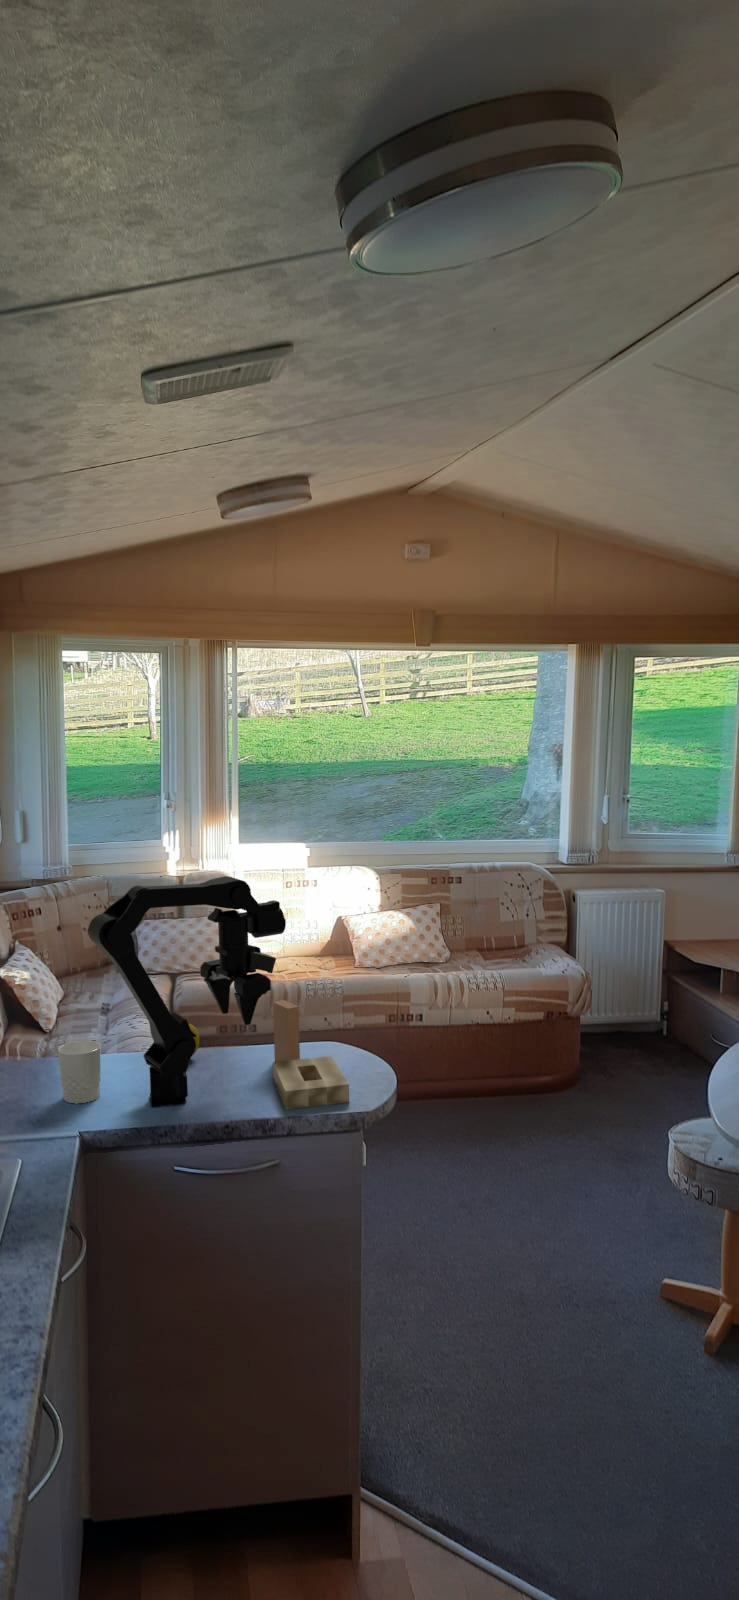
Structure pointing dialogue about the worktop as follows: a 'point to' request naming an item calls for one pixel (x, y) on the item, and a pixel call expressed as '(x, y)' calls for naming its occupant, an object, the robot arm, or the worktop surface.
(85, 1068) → the white cup
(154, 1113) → the worktop surface
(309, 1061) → the pine slot box
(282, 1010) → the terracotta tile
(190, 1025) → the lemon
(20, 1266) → the worktop surface
